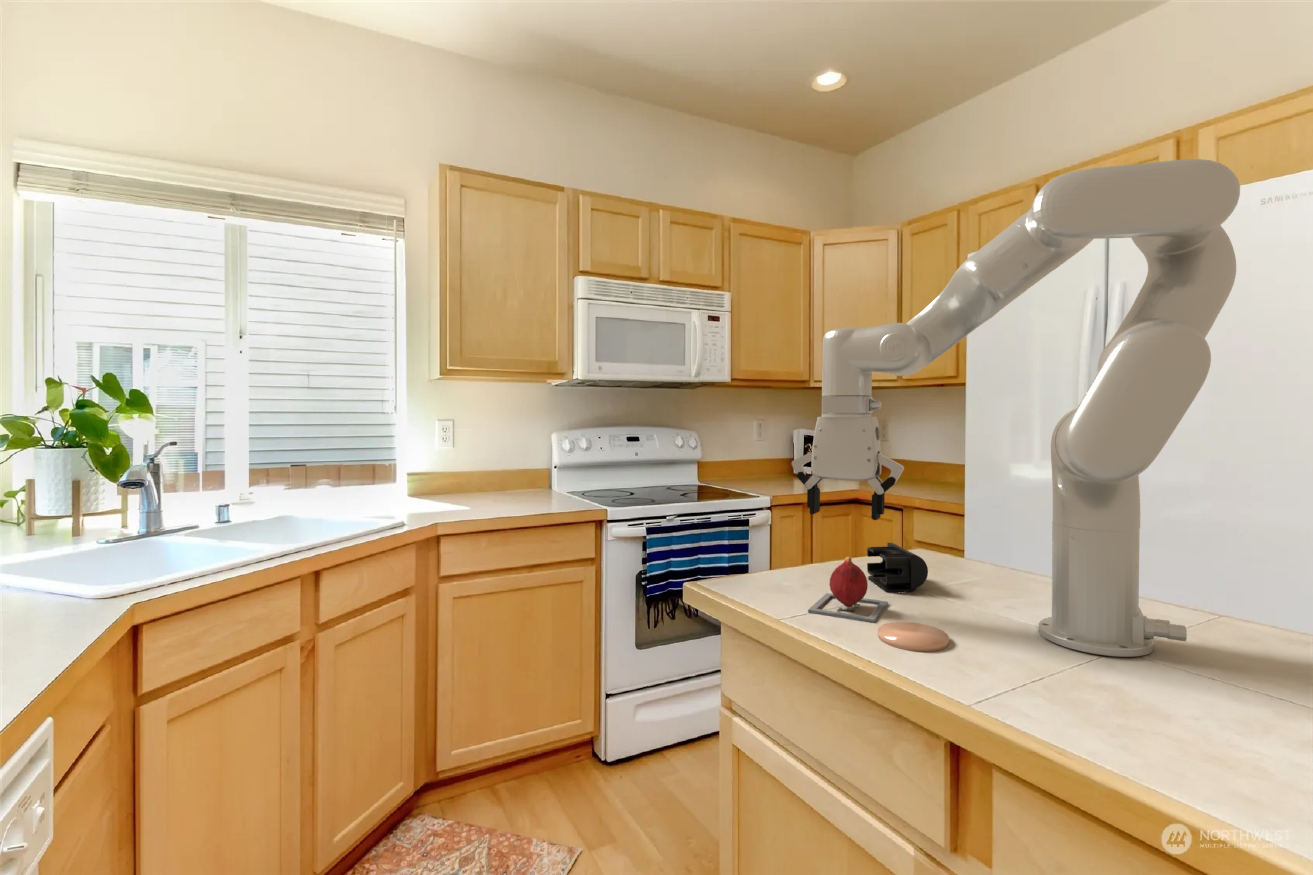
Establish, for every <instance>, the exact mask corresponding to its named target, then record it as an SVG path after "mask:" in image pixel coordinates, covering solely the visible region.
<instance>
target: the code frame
mask: <svg viewBox="0 0 1313 875" xmlns="http://www.w3.org/2000/svg"><path fill="white" fill-rule="evenodd" d="M831 599H836V598H835V597H834V595H833V593H829V592H826V593H825V594H824V595H822V597H820V598H819V600H817V601H816V602H815V603H814V604H813V605H812V606H811V607H809V608H808V609H807V613H811V614H817V615H823V616H830V617H836V618H843V619H847V620H854V621H860V622H861V621H862V622H867V623H876V621H877V620H878V618H879V617H880V616H881V614H882V613H883V612H884V610H885V609H886V607H887V606H888V605H889V601H887V600H880V599H879V600H878V599H873V598H872V599H870V598H864V597H863V598H862V599H861V600H860V601H859V602H858V603H856V604H854V605H853V606H855V608H858V609H859V607H861V606H860V605H861V604H860V603H865V604H870V605H871V604H872V605H876V607H875V609H874V610H873V611H872V612H871V613H870V615H869V616H865V615H858V614H852V613H855V610H853V609H852V610H851V609H844V608H843V607H839V608H837V609H836V611H832V610H825V609H821V608H822V606H824V604H826V603H827V602H828V601H829V600H831ZM846 612H847V613H846ZM848 612H849V613H848Z"/></svg>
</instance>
